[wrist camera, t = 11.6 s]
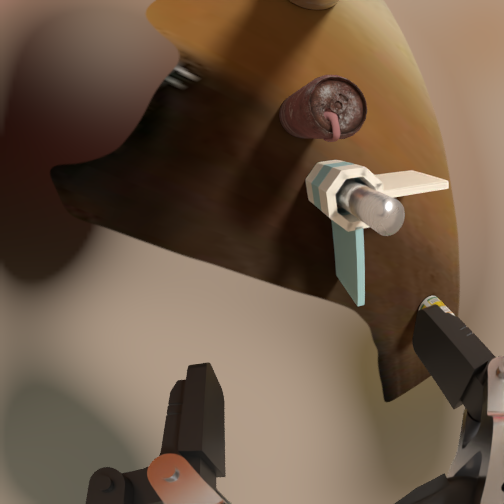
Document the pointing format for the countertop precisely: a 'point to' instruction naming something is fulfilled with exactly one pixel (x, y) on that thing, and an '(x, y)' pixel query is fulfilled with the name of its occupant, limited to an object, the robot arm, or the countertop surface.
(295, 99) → the can
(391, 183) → the white hinge leaf
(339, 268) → the leaf
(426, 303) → the supplement bottle
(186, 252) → the countertop surface
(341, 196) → the hinge pin
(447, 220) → the countertop surface
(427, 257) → the countertop surface
